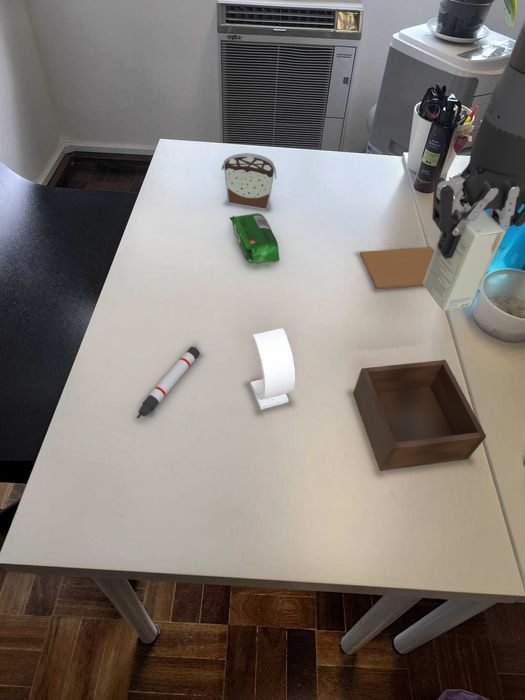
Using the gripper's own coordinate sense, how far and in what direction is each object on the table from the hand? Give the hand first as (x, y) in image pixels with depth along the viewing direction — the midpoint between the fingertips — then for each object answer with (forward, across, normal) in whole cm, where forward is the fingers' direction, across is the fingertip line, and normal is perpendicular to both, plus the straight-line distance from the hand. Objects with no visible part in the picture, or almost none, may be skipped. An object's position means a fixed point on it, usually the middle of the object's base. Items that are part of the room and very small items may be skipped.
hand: (463, 252), depth 60 cm
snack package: (+25, -21, +36) cm, 49 cm away
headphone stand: (+25, -24, -2) cm, 35 cm away
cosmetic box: (+8, 0, 0) cm, 8 cm away
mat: (+25, +9, +26) cm, 37 cm away
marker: (+24, -40, +2) cm, 47 cm away
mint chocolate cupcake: (+25, -19, +54) cm, 62 cm away
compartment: (+25, -4, -10) cm, 27 cm away
